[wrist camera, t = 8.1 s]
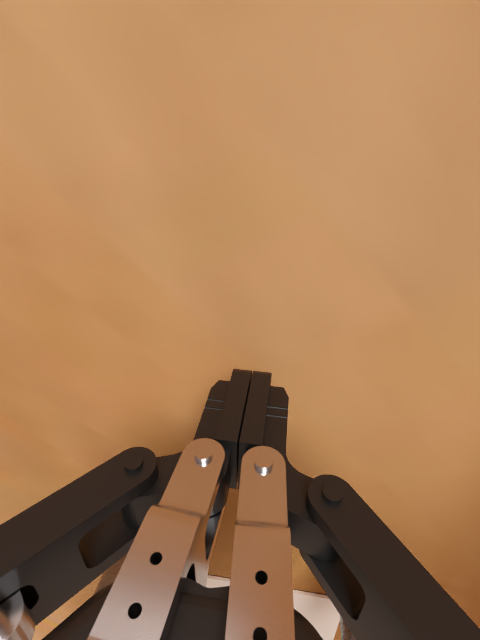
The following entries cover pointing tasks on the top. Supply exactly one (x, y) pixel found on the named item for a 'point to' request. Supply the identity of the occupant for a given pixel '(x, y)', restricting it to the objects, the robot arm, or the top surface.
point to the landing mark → (303, 608)
